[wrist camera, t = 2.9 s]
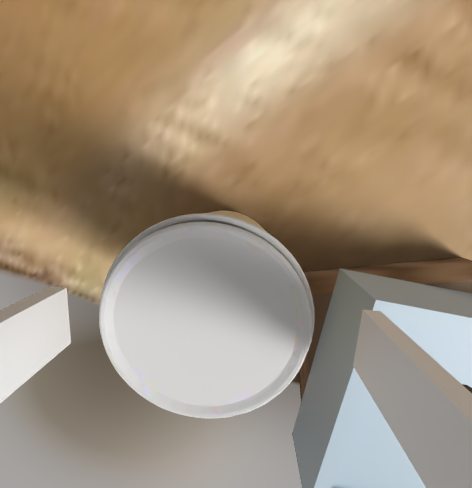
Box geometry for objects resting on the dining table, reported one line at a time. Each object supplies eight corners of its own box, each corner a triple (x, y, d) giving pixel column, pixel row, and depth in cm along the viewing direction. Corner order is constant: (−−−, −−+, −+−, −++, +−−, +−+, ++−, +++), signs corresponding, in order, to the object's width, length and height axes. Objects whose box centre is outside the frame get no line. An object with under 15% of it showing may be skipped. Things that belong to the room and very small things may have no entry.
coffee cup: (164, 292, 23) (80, 399, 11) (183, 188, 21) (104, 189, 9) (265, 315, 23) (284, 445, 12) (293, 214, 21) (351, 248, 9)
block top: (292, 433, 20) (306, 511, 16) (339, 268, 17) (375, 299, 12) (465, 466, 20) (534, 554, 16) (543, 307, 17) (659, 353, 12)
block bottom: (301, 404, 26) (314, 455, 21) (291, 271, 23) (304, 294, 18) (447, 395, 25) (496, 446, 20) (457, 255, 22) (518, 275, 17)
